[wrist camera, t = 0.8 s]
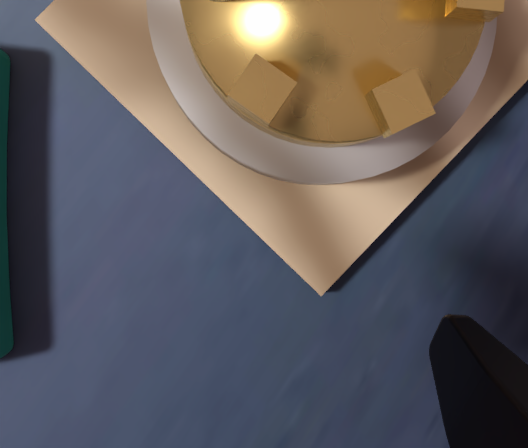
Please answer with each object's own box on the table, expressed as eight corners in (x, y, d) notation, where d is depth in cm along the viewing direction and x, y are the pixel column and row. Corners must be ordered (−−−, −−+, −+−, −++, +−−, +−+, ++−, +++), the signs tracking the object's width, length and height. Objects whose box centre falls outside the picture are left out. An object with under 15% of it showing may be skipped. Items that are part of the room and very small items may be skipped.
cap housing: (317, 292, 24) (329, 304, 21) (43, 28, 22) (14, 0, 19) (564, 33, 24) (611, 8, 21) (310, -240, 23) (323, -308, 20)
